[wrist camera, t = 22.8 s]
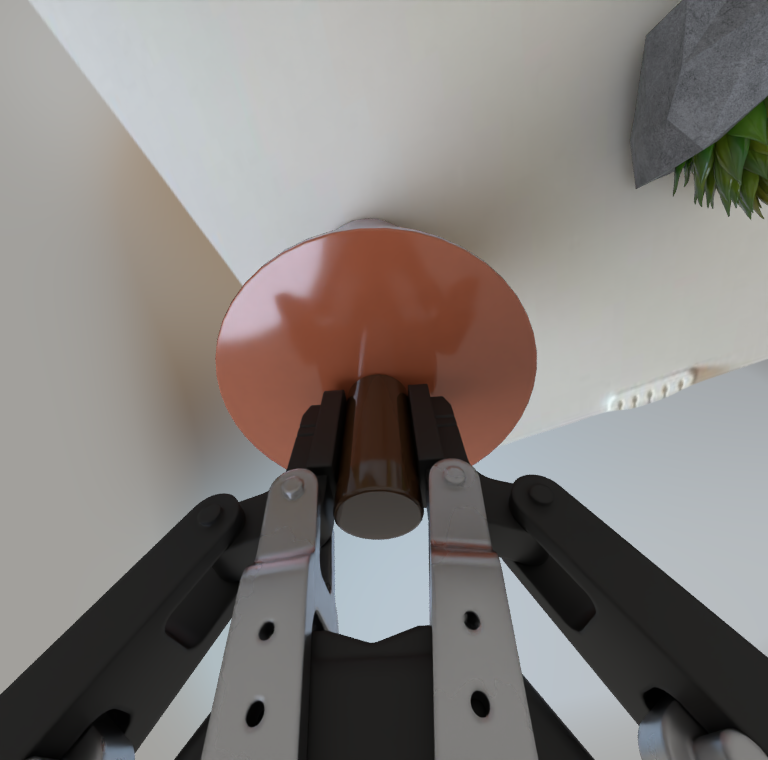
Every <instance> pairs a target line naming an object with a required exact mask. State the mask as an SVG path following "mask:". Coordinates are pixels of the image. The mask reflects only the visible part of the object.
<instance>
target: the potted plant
mask: <svg viewBox="0 0 768 760" xmlns="http://www.w3.org/2000/svg"><path fill="white" fill-rule="evenodd" d="M630 144H631V152H632V161H633V169H634V178H635V186H636V189H637V188H639V187H641V186H643V185H645V184H647V183H649V182H651V181H653V180H655V179H658V178H660V177H663V176H665V175H667V174H670V173H672V172H674V171H675V172H674V189H673V196H674V194H675V192H676V189H677V186H678V181H679V177H680V174H681V171H682V169H683V168H684V176H685V184H684V187H685V186H686V184H687V183H688V181H689V177H690V172H692V173H693V175H694V188H695V194H694V203H695V204H696V200H697V198H698V202H699V204H700V206H701V207H702V200H703V195H704V192H706V199H707V207H709V203H711V207H712V209H713V205H714V193H715V190H716V188H717V191H718V193H719V194H720V198H721V201H722V203H723V205H724V208H725V210H726V212H727V215H728V217H729V216H730V206H731V200H732V202H733V203H734V205H735V207H736V208H737V204H738V205H739V206H740V207H741V208H742V209H743V211H744V212H745V213H746V215H747V216H748V217H749V218H750V220H751V212H752V213H753V210H754V211H755V212H756V213H757V214H758V215H759V216H760V217H761V218H763V219H764V217H763V216H762V214H761V211H760V209H759V207H760V208H762V207H761V205H760V203H759V200H758V198H759V199H760V200H761V201H762V202H763V203H765V204H766V205H768V0H682V1H681V2H680V3H679V4H678V5H677V6H676V7H675V8H674V9H673V10H672V11H671V12H670V13H669V14H668V15H667V16H666V17H665V18H664V19H663V20H662V21H661V22H660V23H659V24H658V25H657V26H655V27H654V28H653V29H652V30H651V31H650V32H649V33H648V34H647V35H646V40H645V47H644V54H643V61H642V68H641V75H640V82H639V89H638V96H637V103H636V110H635V117H634V122H633V127H632V133H631V138H630Z"/></svg>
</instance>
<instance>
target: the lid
mask: <svg viewBox="0 0 768 760" xmlns="http://www.w3.org/2000/svg"><path fill="white" fill-rule="evenodd" d="M215 359H216V373H217V380H218V384H219V388H220V392H221V395H222V398H223V400H224V403H225V405H226V408H227V410H228V412H229V413H230V415H231V417H232V418H233V420H234V422H235V424H236V425H237V426H238V428H239V429H240V430H241V432H242V433H243V434H244V436H245V437H246V438H247V439H248V440H249V441H250V442H251V443H252V444H253V445H254V446H255V447H256V448H257V449H258V450H259V451H261V452H262V453H263V454H265V455H266V456H267V457H268V458H269V459H271V460H272V461H274V462H276V463H277V464H278V465H280V466H282V467H283V468H285V469H287V467H288V463H289V460H290V457H291V453H292V450H293V446H294V443H295V440H296V437H297V433H298V429H299V428H300V423H301V419H302V416H303V414H304V413H305V412H306V411H307V410H308V408H309V407H310V406H311V405H321V401H322V396H323V393H324V391H332V390H344V391H345V395H346V400H347V404H346V411H345V419H344V427H343V435H342V443H341V451H340V458H339V466H338V474H337V482H336V490H335V498H334V505H333V517H334V520H335V522H336V524H337V525H338V526H339V527H340V528H341V529H342V530H343V531H345V532H347V533H348V534H351V535H353V536H356V537H360V538H365V539H373V540H382V539H391V538H396V537H399V536H402V535H404V534H407V533H409V532H410V531H412V530H413V529H415V528H416V527H417V526H418V525H419V524H420V522H421V521H422V518H423V515H424V508H423V500H422V493H421V486H420V481H419V475H418V467H417V460H416V452H415V445H414V437H413V430H412V422H411V415H410V407H409V400H408V385H415V384H428V388H429V392H430V397H436V396H443V397H444V398H445V399H446V400H447V401H448V402H449V403H450V404H451V406H452V409H453V412H454V417H455V419H456V422H457V426H458V429H459V432H460V435H461V438H462V442H463V445H464V448H465V451H466V455H467V458H468V460H469V463H470V464H471V466H472V465H474V464H476V463H477V462H479V461H480V460H481V459H483V458H484V457H485V456H487V455H488V454H490V453H491V452H492V451H493V450H494V449H495V448H496V447H497V446H498V445H499V444H501V443H502V442H503V440H504V439H505V438H506V437H507V436H508V435H509V434H510V432H511V431H512V430H513V428H514V427H515V425H516V424H517V423H518V421H519V420H520V418H521V416H522V414H523V412H524V410H525V408H526V406H527V404H528V402H529V399H530V396H531V393H532V390H533V387H534V382H535V376H536V370H537V350H536V344H535V338H534V332H533V330H532V327H531V324H530V321H529V318H528V315H527V313H526V311H525V309H524V308H523V306H522V304H521V302H520V300H519V298H518V297H517V295H516V294H515V293H514V291H513V290H512V289H511V288H510V286H509V285H508V284H507V283H506V281H505V280H504V279H503V278H502V277H501V276H500V275H499V274H498V273H496V272H495V271H494V270H493V269H492V268H491V267H490V266H489V265H488V264H486V263H485V262H484V261H483V260H482V259H480V258H479V257H477V256H476V255H474V254H473V253H471V252H470V251H468V250H466V249H465V248H463V247H462V246H459V245H457V244H455V243H453V242H451V241H448V240H446V239H444V238H442V237H439V236H436V235H433V234H429V233H426V232H422V231H418V230H415V229H409V228H401V227H393V226H357V227H351V228H345V229H339V230H333V231H330V232H326V233H323V234H320V235H317V236H314V237H311V238H308V239H306V240H304V241H302V242H300V243H298V244H296V245H294V246H292V247H290V248H287V249H285V250H284V251H282V252H281V253H280V254H278V255H277V256H275V257H274V258H273V259H271V260H270V261H268V262H267V263H266V264H264V265H263V266H262V267H261V268H260V269H259V270H258V271H257V272H256V273H255V274H254V275H253V276H252V277H251V278H250V279H249V280H248V281H247V282H246V283H245V284H244V285H243V287H242V288H241V289H240V291H239V292H238V294H237V295H236V296H235V298H234V299H233V301H232V302H231V304H230V306H229V308H228V310H227V312H226V315H225V317H224V319H223V321H222V325H221V328H220V332H219V335H218V339H217V348H216V358H215Z"/></svg>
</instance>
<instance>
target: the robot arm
mask: <svg viewBox="0 0 768 760" xmlns="http://www.w3.org/2000/svg"><path fill="white" fill-rule="evenodd" d="M408 400H409V407H410V415H411V422H412V430H413V437H414V445H415V452H416V460H417V467H418V475H419V481H420V486H421V493H422V500H423V508H427V512H428V520H429V597H430V599H429V601H430V602H429V604H430V605H429V608H430V610H429V611H430V625H427V626H417V627H414V628H412V629H409V630H406V631H404V632H401V633H399V634H397V635H394V636H391V637H389V638H386V639H383V640H381V641H378V642H375V643H368V642H364V641H361V640H358V639H354V638H351V637H348V636H344V635H341V634H339V631H338V618H337V610H336V603H335V566H334V563H335V562H334V561H335V560H334V531H333V525H334V517H333V505H334V498H335V490H336V482H337V474H338V466H339V458H340V451H341V443H342V435H343V427H344V419H345V411H346V404H347V400H346V395H345V391H344V390H332V391H324V393H323V396H322V401H321V405H311V406H310V407H309V408H308V410H307V411H306V412H305V413H304V414H303V416H302V419H301V423H300V428H299V429H298V433H297V437H296V440H295V443H294V446H293V450H292V453H291V457H290V460H289V463H288V467H287V470H286V472H285V473H283V474H282V475H280V476H279V477H278V478H277V479H276V480H275V481H274V482H273V483H272V485H271V487H270V490H269V491H268V492H265V493H263V494H261V495H258V496H255V497H252V498H249V499H246V500H244V501H241V502H238V500H237V499H236V498H235V497H234V496H233V495H230V494H217V495H213V496H211V497H208V498H206V499H205V500H203V501H202V502H200V503H199V504H198V505H196V506H195V507H194V508H193V510H191V511H190V512H189V513H188V514H187V515H186V516H185V517H184V518H183V519H182V520H181V521H180V522H179V523H178V524H177V525H176V526H175V527H173V528H172V529H171V530H170V531H169V532H168V533H167V534H166V535H165V536H164V537H163V538H162V539H161V540H160V541H159V542H158V543H157V544H156V545H155V546H154V547H153V548H152V549H151V550H150V551H149V552H148V553H147V554H146V555H144V556H143V558H141V560H139V561H138V562H137V563H136V564H135V565H134V566H133V567H132V568H131V569H130V570H129V571H128V572H127V573H126V574H125V575H124V576H123V577H122V578H121V579H120V580H119V581H118V582H117V583H115V584H114V585H113V586H112V587H111V588H110V589H109V590H108V591H107V592H106V593H105V594H104V595H103V596H102V597H101V598H100V599H99V600H98V601H97V602H96V603H95V604H94V605H93V606H92V607H91V608H90V609H89V610H88V611H86V613H84V614H83V615H82V616H81V617H80V618H79V619H78V620H77V621H76V622H75V623H74V624H73V625H72V626H71V627H70V628H69V629H68V630H67V631H66V632H65V633H64V634H63V635H62V636H61V637H60V638H58V639H57V640H56V641H55V642H54V643H53V644H52V645H51V646H50V647H49V648H48V649H47V650H46V651H45V652H44V653H43V654H42V655H41V656H40V657H39V658H38V659H37V660H36V661H35V662H34V663H33V664H32V665H31V666H29V667H28V668H27V669H26V670H25V671H24V672H23V673H22V674H21V675H20V676H19V677H18V678H17V679H16V680H15V681H14V682H13V683H12V684H11V685H10V686H9V687H8V688H7V689H6V690H5V691H4V692H3V693H2V694H0V760H135V755H134V754H135V752H136V751H137V750H138V748H139V747H140V745H141V744H142V743H143V741H144V740H145V738H146V737H147V736H148V734H149V733H150V731H151V730H152V729H153V727H154V726H155V724H156V723H157V722H158V720H159V719H160V717H161V716H162V715H163V713H164V712H165V710H166V709H167V708H168V706H169V705H170V703H171V702H172V701H173V699H174V698H175V696H176V695H177V694H178V692H179V691H180V689H181V688H182V687H183V685H184V684H185V682H186V681H187V679H188V678H189V677H190V675H191V674H192V673H193V671H194V670H195V668H196V667H197V665H198V664H199V663H200V661H201V660H202V659H203V657H204V656H205V654H206V653H207V651H208V650H209V649H210V647H211V646H212V645H213V643H214V642H215V640H216V639H217V638H218V636H219V635H220V633H221V632H222V631H223V629H224V628H225V626H226V625H227V624H228V622H229V621H230V619H231V618H232V620H231V624H230V629H229V634H228V638H227V643H226V647H225V652H224V656H223V661H222V666H221V670H220V675H219V679H218V684H217V688H216V693H215V697H214V702H213V706H212V711H211V713H210V714H209V715H208V716H207V718H206V719H205V720H204V722H203V723H202V724H201V725H200V727H199V728H198V729H197V731H196V732H195V733H194V735H193V736H192V737H191V738H190V740H189V741H188V742H187V744H186V745H185V746H184V748H183V749H182V750H181V751H180V753H179V754H178V756H177V757H176V758H175V759H174V760H594V758H593V757H592V756H591V755H590V754H589V752H588V751H587V750H586V749H585V748H584V747H583V745H582V744H581V743H580V742H579V741H578V739H577V738H576V737H575V736H574V735H573V734H572V732H571V731H570V730H569V729H568V728H567V726H566V725H565V724H564V723H563V722H562V721H561V719H560V718H559V717H558V716H557V715H556V713H555V712H554V711H553V710H552V709H551V708H550V706H549V705H548V704H547V703H546V702H545V700H544V699H543V698H542V697H541V696H540V694H539V693H538V692H537V691H536V690H535V689H534V688H533V686H532V685H531V684H530V683H529V681H528V680H527V679H526V678H525V677H524V676H523V674H522V672H521V667H520V662H519V656H518V652H517V646H516V641H515V635H514V630H513V625H512V620H511V615H510V609H509V605H508V599H507V594H506V589H505V583H504V578H503V573H502V569H501V563H500V560H499V557H501V558H502V559H503V561H504V562H505V563H506V564H507V566H508V567H509V568H510V569H511V571H512V572H513V573H514V574H515V576H516V577H517V578H518V579H519V580H520V582H521V583H522V584H523V585H524V586H525V588H526V589H527V590H528V591H529V592H530V594H531V595H532V596H533V597H534V599H535V600H536V601H537V602H538V603H539V605H540V606H541V607H542V608H543V610H544V611H545V612H546V613H547V614H548V616H549V617H550V618H551V619H552V621H553V622H554V623H555V624H556V625H557V627H558V628H559V629H560V630H561V631H562V633H563V634H564V635H565V636H566V638H567V639H568V640H569V641H570V642H571V644H572V645H573V646H574V647H575V648H576V650H577V651H578V652H579V653H580V655H581V656H582V657H583V658H584V659H585V661H586V662H587V663H588V664H589V665H590V667H591V668H592V669H593V670H594V672H595V673H596V674H597V675H598V676H599V678H600V679H601V680H602V681H603V683H604V684H605V685H606V686H607V687H608V689H609V690H610V691H611V692H612V694H613V695H614V696H615V697H616V698H617V700H618V701H619V702H620V703H621V704H622V706H623V707H624V708H625V709H626V710H627V712H628V713H629V714H630V715H631V717H632V718H633V719H634V720H635V721H636V723H637V724H638V725H639V730H638V745H639V751H640V755H641V758H642V760H768V657H766V656H765V655H764V654H763V653H762V652H760V651H759V650H758V649H757V648H756V647H754V646H753V645H752V644H751V643H749V642H748V641H747V640H746V639H744V638H743V637H742V636H741V635H740V634H738V633H737V632H736V631H735V630H734V629H732V628H731V627H730V626H729V625H728V624H726V623H725V622H724V621H723V620H722V619H720V618H719V617H718V616H717V615H716V614H714V613H713V612H712V611H710V609H708V608H707V607H706V606H705V605H703V604H702V603H701V602H700V601H699V600H697V599H696V598H695V597H694V596H692V595H691V594H690V593H689V592H688V591H686V590H685V589H684V588H683V587H682V586H680V585H679V584H678V583H677V582H675V581H674V580H673V579H672V578H671V577H669V576H668V575H667V574H666V573H665V572H664V571H662V570H661V569H660V568H659V567H657V566H656V565H655V564H654V563H652V562H651V561H650V560H649V559H648V558H647V557H645V556H644V555H643V554H641V552H639V551H638V550H637V549H636V548H634V547H633V546H632V545H631V544H630V543H628V542H627V541H626V540H625V539H624V538H622V537H621V536H620V535H619V534H617V533H616V532H615V531H614V530H613V529H611V528H610V527H609V526H608V525H607V524H605V523H604V522H603V521H602V520H601V519H599V518H598V517H597V516H596V515H594V514H593V513H592V512H591V511H589V510H588V509H587V508H586V507H585V506H583V505H582V504H581V503H580V502H579V501H578V500H576V499H575V498H574V497H573V496H571V495H570V494H569V493H568V492H567V491H565V490H564V489H563V488H562V487H561V486H559V485H558V484H557V483H555V482H554V481H552V480H550V479H548V478H546V477H543V476H539V475H525V476H522V477H519V478H518V479H517V480H516V481H515V482H514V483H513V484H512V483H508V482H503V481H498V480H494V479H490V478H488V477H485V476H484V475H481V474H480V473H479V472H477V471H476V470H475V468H473V467H472V466H471V464H470V463H469V460H468V458H467V455H466V451H465V448H464V445H463V442H462V438H461V435H460V432H459V429H458V426H457V422H456V419H455V417H454V412H453V409H452V406H451V404H450V403H449V402H448V401H447V400H446V399H445V398H444V397H443V396H436V397H430V392H429V388H428V384H415V385H408Z"/></svg>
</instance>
